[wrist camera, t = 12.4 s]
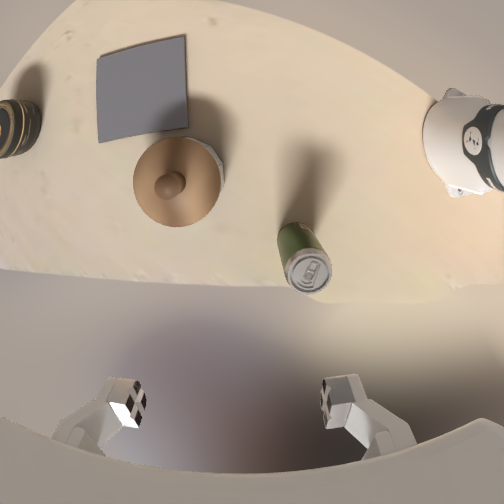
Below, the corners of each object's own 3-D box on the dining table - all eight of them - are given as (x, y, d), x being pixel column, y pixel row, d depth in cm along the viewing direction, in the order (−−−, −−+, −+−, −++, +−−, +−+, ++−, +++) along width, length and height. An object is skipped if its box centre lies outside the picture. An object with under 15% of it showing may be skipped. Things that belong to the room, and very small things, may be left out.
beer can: (285, 215, 40) (297, 244, 29) (318, 228, 41) (342, 261, 30) (271, 248, 42) (277, 287, 31) (303, 260, 43) (320, 301, 32)
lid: (217, 132, 31) (212, 130, 27) (224, 221, 35) (221, 232, 31) (132, 144, 32) (116, 145, 27) (143, 227, 36) (129, 239, 31)
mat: (185, 38, 30) (184, 36, 30) (188, 127, 35) (187, 126, 35) (99, 60, 31) (96, 59, 30) (101, 142, 36) (98, 143, 35)
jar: (21, 95, 31) (-7, 93, 24) (51, 108, 33) (22, 107, 26) (5, 144, 34) (-22, 149, 27) (33, 162, 36) (4, 168, 29)
